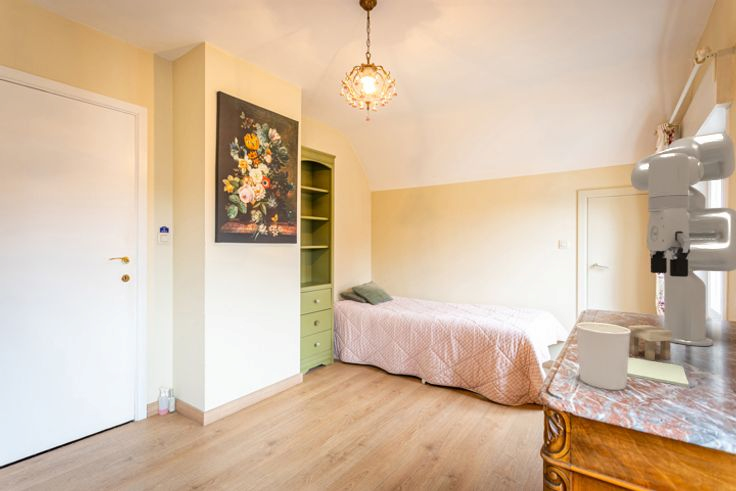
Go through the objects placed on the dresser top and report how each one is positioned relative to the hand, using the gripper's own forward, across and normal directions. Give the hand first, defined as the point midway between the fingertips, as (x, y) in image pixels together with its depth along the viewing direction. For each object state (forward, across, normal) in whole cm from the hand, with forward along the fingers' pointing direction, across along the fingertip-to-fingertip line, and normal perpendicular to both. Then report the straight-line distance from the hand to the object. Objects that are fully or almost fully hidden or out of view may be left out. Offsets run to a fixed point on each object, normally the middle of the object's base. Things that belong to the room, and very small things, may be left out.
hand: (668, 274), depth 84 cm
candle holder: (+23, +17, -18) cm, 34 cm away
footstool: (+23, -8, -1) cm, 24 cm away
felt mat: (+23, +5, -6) cm, 24 cm away
